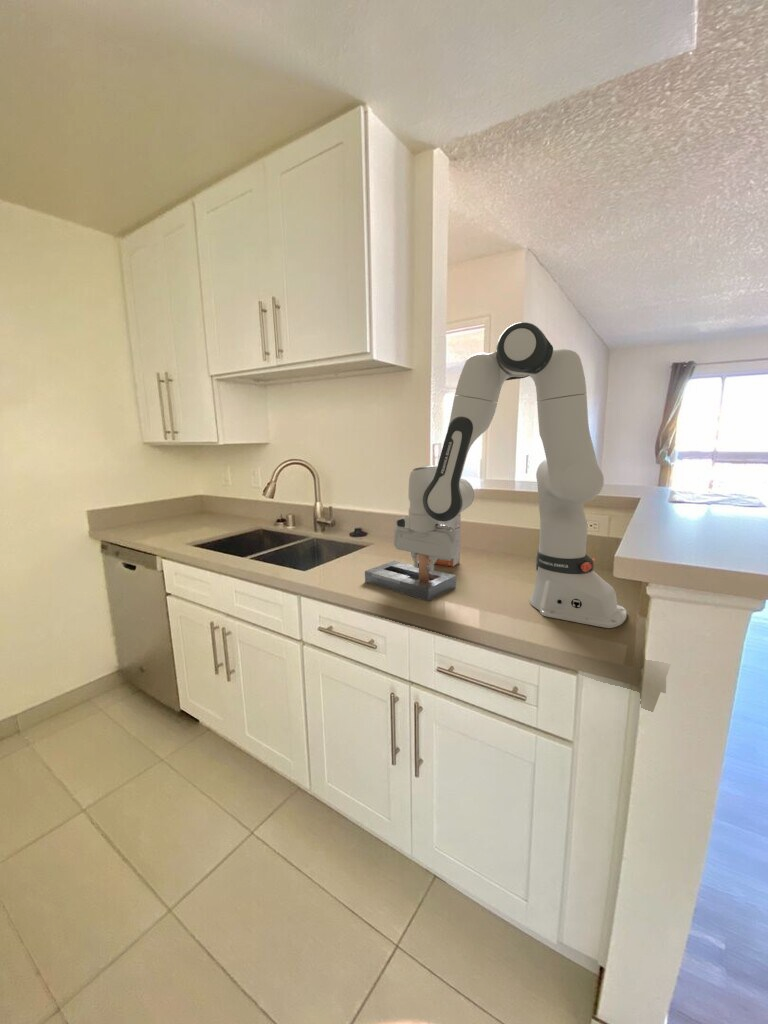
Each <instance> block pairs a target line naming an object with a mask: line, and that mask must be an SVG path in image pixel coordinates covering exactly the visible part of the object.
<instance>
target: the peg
mask: <svg viewBox="0 0 768 1024" xmlns="http://www.w3.org/2000/svg"><path fill="white" fill-rule="evenodd" d="M426 564H429V556H427V555H422V554H419V580H418V581H422V582H426V583H427V582H430V580H429V570H427V569H426V568H427V567H426Z"/></svg>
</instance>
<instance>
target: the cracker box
mask: <svg viewBox="0 0 768 1024" xmlns="http://www.w3.org/2000/svg"><path fill="white" fill-rule="evenodd" d="M461 513H462V512H461ZM461 513H459V514H457V515H456V516H455V517H454V518H453V519H451V520H449V521H439V525H444V526H450V527H451V528H452V529H453V530H454V531H455V541H456V550H457V554H456V556H455V557H454V558H452V559H450V560H446V559H441V558H438V559H437V560H436V562H435V564H434V565H439V566H440V565H441V566H446V567H451V568H453V567H455V566H457V565H458V564H460V563H461V562H460V561H461ZM418 557H419V555H418ZM430 561H431V560H430V559H429V563H430Z"/></svg>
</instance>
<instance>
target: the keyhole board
mask: <svg viewBox="0 0 768 1024" xmlns="http://www.w3.org/2000/svg"><path fill="white" fill-rule="evenodd" d="M418 580H419V568H417V567H414V565H413V564H411V563H410V564H409V563H404V562H401V561H397V560H393V561H389V562H387V563H384V564H381V565H379V566H376V567H372V568H370V569H366V570H365V571H364V582H365V584H366V583H367V584H370V585H372V586H376V587H379V588H383V589H385V590H386V589H388V590H390V591H394V592H397V593H399V594H403V595H407V596H409V597H414V598H417V599H419V600H422V601H427V602H429V601H431V600H434V599H435V598H438V597H439V596H442V595H443V594H445V593H447V592H449V591H451V590H452V589H455V588H456V585H457V575H455V574H451V573H447V572H442V571H439V570H435V569H434V570H432V571H429V580H430V582H427V583H426V582H422V581H418Z"/></svg>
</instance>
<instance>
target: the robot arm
mask: <svg viewBox="0 0 768 1024" xmlns="http://www.w3.org/2000/svg"><path fill="white" fill-rule="evenodd" d="M583 367H584V366H583V363H582V360H581V357H580V355H579V354H578V353H577V352H576V351H575V350H571V349H565V348H564V349H563V348H562V349H554V347H553V345H552V343H551V342H550V341H549V340H548V338H547V337H546V335H545V334H544V333H543V330H541V329H540V328H539V327H538V326H537V325H535V324H533V323H530V322H527V321H526V322H525V321H521V322H517V323H513V324H512V325H510V326H508V327H507V328H506V329H505V330H504V331H502V333H501V335H500V336H499V338H498V340H497V343H496V350H495V351H493V352H490V353H488V352H487V353H486V352H479V353H475V354H472V355H470V356H469V357H467V359H466V360H465V363H464V365H463V367H462V370H461V373H460V375H459V377H458V382H457V385H456V388H455V389H456V390H455V393H454V397H453V400H452V401H453V403H452V407H451V412H450V418H449V422H448V426H447V431H446V435H445V439H444V441H443V445H442V449H441V452H440V456H439V459H438V464H437V465H435V464H434V465H433V464H431V465H425V466H421V467H417V468H413V469H412V470H411V472H410V473H409V479H408V496H407V497H408V500H409V508H408V515H405V516H403V517H400V518H396V519H395V520H394V526H395V528H394V531H393V545H394V547H395V549H396V550H399V551H405V552H409V553H410V557H411V558H412V561H413V563H414V567H417V568H419V557H418V555H419V554H422V555H427V556H429V559H430V560H431V561H430V563H429V564H426V567H427V568H426V569H427V570H429V571H432V570H435V565H436V564H435V562H436V560H437V559H438V558H441V559H446V560H450V559H452V558H454V557H455V556H456V554H457V550H456V541H455V531H454V530H453V529H452V528H451V527H450V526H444V525H439V521H449V520H451V519H453V518H454V517H455V516H456V515H457V514H459V513H462V512H464V511H465V510H467V509H468V508H469V507H470V506H471V505H472V503H473V501H474V498H475V491H474V489H473V486H472V484H471V483H470V482H469V481H467V480H466V479H464V478H462V475H463V472H464V471H463V470H464V468H465V464H466V460H467V457H468V454H469V451H470V449H471V447H472V445H473V444H474V443H475V441H477V439H478V438H480V436H481V435H482V434H483V433H485V432H486V431H488V429H489V427H490V425H491V423H492V422H493V419H494V416H495V413H496V411H497V405H498V402H499V397H500V394H501V391H502V387H503V386H504V385H503V384H504V383H505V381H506V382H507V381H512V380H518V379H521V380H522V379H524V378H529V377H530V378H531V379H532V381H533V382H534V385H535V390H536V391H535V393H536V404H537V417H538V418H537V420H538V422H537V423H538V432H539V436H540V439H541V442H542V445H543V450H544V455H545V459H544V460H543V461H542V462H541V463H540V464H539V465H538V467H537V469H536V473H535V474H536V475H535V476H536V483H537V497H538V499H537V501H538V508H539V509H538V511H539V542H538V543H539V545H538V550H537V552H536V559H535V560H536V561H535V567H536V568H535V569H536V577H535V583H534V587H533V590H532V593H531V597H530V599H529V603H530V605H531V606H532V607H533V608H535V609H537V610H538V611H539V613H540V614H541V615H542V616H544V617H548V618H553V619H557V620H563V621H569V622H574V623H579V624H585V625H589V626H594V627H601V628H605V629H613V628H616V627H619V626H621V625H622V624H623V623H624V622H625V621H626V620H627V615H628V614H627V609H626V608H625V607H623V606H622V605H619V604H618V599H617V593H616V590H615V588H614V587H613V586H612V585H611V584H609V583H608V582H607V581H606V580H604V578H602V577H601V576H600V575H598V573H596V572H595V571H594V568H595V566H594V564H595V560H596V558H595V557H593V558H591V557H590V556H589V555H587V538H588V528H589V527H588V521H587V519H586V514H585V508H584V503H588V502H590V501H592V500H594V499H595V498H596V497H598V495H599V494H600V492H602V490H603V488H604V482H605V481H604V480H605V479H604V474H603V472H602V470H601V468H600V466H599V464H598V460H597V457H596V453H595V447H594V445H593V440H592V437H591V433H590V428H589V427H590V426H589V412H588V395H587V394H588V393H587V385H586V377H585V372H584V368H583Z"/></svg>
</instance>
